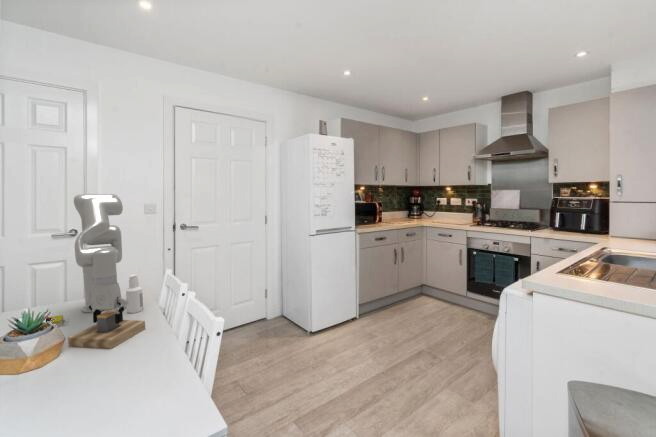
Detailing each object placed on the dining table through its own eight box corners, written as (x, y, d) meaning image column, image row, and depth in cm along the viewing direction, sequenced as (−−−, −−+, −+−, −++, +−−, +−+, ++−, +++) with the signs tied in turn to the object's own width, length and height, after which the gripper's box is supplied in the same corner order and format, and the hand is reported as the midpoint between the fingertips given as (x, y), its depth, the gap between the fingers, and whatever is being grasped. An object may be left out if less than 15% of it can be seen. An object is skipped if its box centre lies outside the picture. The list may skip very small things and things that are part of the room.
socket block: (68, 346, 119) (67, 337, 119) (107, 327, 137) (107, 319, 137) (111, 348, 117) (110, 339, 117) (145, 328, 135) (144, 320, 134)
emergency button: (25, 318, 138) (69, 310, 147) (25, 328, 138) (69, 320, 147) (20, 325, 130) (67, 316, 139) (21, 335, 131) (68, 326, 139)
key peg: (98, 340, 124) (96, 315, 123) (110, 333, 130) (109, 310, 129) (107, 340, 124) (105, 316, 123) (119, 334, 130) (118, 310, 129)
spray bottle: (146, 309, 158) (144, 274, 157) (134, 314, 152) (132, 277, 151) (136, 307, 161) (134, 273, 160) (123, 312, 154) (121, 276, 153)
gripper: (77, 282, 123) (80, 324, 124) (117, 283, 120) (120, 326, 122) (94, 277, 130) (97, 317, 131) (132, 278, 128) (134, 319, 129)
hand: (108, 321), depth 126 cm, fingers open, 9 cm apart
